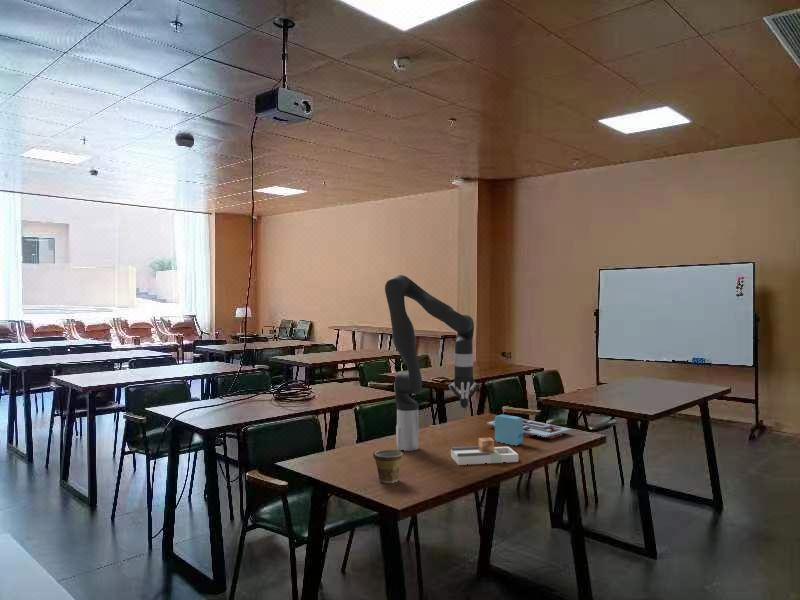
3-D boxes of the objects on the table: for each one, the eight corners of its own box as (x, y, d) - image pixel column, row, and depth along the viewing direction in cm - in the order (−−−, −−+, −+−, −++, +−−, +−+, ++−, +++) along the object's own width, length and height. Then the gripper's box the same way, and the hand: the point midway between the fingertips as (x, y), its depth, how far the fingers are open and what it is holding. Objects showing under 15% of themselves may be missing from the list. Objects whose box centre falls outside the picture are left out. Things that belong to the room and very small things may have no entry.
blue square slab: (523, 444, 258) (523, 417, 258) (517, 446, 255) (517, 419, 255) (499, 440, 266) (499, 413, 266) (494, 441, 263) (494, 415, 263)
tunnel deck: (458, 464, 228) (458, 454, 228) (451, 456, 240) (451, 446, 240) (518, 461, 232) (518, 451, 232) (508, 453, 244) (508, 444, 244)
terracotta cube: (482, 453, 233) (482, 441, 233) (478, 450, 238) (478, 438, 238) (494, 453, 234) (494, 440, 234) (490, 449, 239) (490, 437, 239)
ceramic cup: (408, 480, 209) (408, 453, 209) (387, 487, 202) (387, 458, 202) (383, 473, 219) (383, 446, 218) (363, 479, 212) (363, 451, 211)
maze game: (486, 428, 289) (486, 422, 289) (512, 422, 302) (512, 416, 302) (545, 442, 262) (545, 435, 262) (570, 435, 275) (570, 428, 275)
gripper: (450, 366, 230) (450, 410, 230) (482, 365, 232) (482, 408, 232) (445, 364, 237) (445, 406, 237) (476, 363, 240) (476, 405, 240)
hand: (464, 407), depth 235 cm, fingers closed
